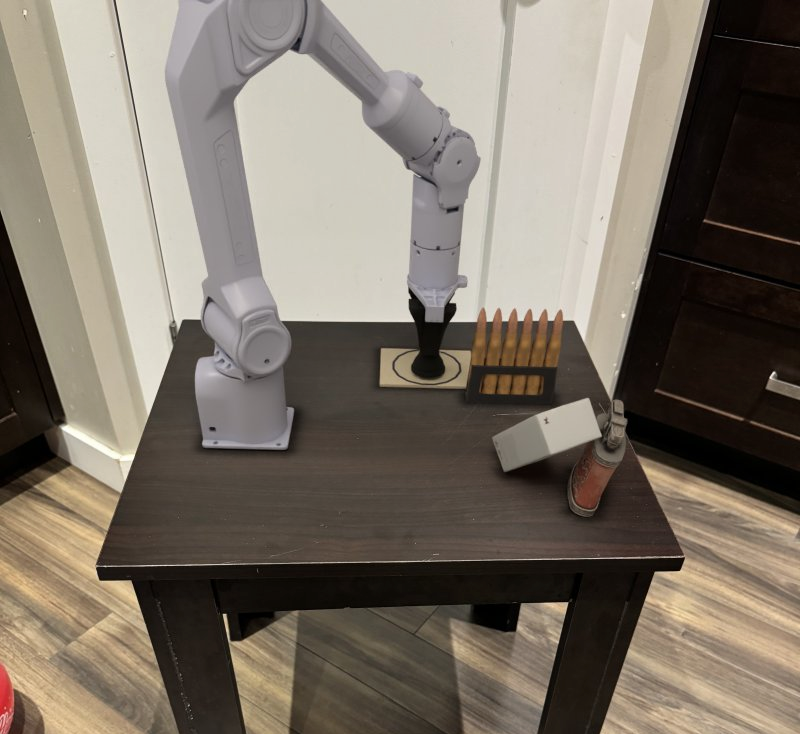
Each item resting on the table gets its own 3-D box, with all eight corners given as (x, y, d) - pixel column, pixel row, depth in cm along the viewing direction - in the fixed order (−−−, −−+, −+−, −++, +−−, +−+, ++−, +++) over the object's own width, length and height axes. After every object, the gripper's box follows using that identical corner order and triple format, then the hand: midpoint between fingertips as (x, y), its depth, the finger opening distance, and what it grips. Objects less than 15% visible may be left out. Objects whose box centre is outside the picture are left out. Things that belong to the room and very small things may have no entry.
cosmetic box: (503, 474, 84) (549, 456, 72) (490, 437, 84) (534, 413, 72) (551, 457, 85) (604, 436, 74) (538, 420, 85) (589, 395, 74)
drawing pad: (379, 386, 96) (379, 383, 96) (380, 350, 103) (381, 347, 102) (475, 389, 96) (475, 386, 96) (470, 353, 103) (470, 350, 103)
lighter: (597, 520, 79) (637, 445, 72) (565, 511, 79) (602, 435, 72) (598, 472, 84) (635, 398, 77) (569, 463, 84) (603, 389, 77)
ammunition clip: (550, 395, 96) (567, 306, 88) (552, 404, 94) (570, 313, 86) (464, 394, 95) (474, 303, 87) (466, 402, 94) (475, 311, 86)
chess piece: (404, 366, 98) (407, 291, 91) (432, 357, 100) (437, 284, 93) (423, 381, 95) (428, 306, 89) (452, 372, 97) (458, 298, 91)
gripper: (475, 268, 81) (464, 380, 90) (466, 217, 92) (457, 321, 101) (409, 266, 81) (404, 378, 90) (408, 215, 92) (403, 320, 101)
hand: (428, 348), depth 96 cm, fingers closed on chess piece, 2 cm apart
